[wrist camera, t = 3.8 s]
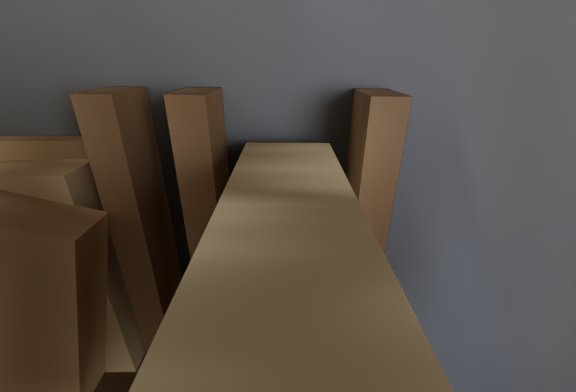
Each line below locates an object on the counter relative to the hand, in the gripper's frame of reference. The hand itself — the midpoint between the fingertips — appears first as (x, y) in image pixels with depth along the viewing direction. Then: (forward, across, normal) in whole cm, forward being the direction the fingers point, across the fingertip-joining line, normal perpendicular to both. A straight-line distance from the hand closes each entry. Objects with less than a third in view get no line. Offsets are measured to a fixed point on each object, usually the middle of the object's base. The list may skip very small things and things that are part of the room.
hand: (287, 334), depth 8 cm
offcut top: (+2, +8, 0) cm, 8 cm away
